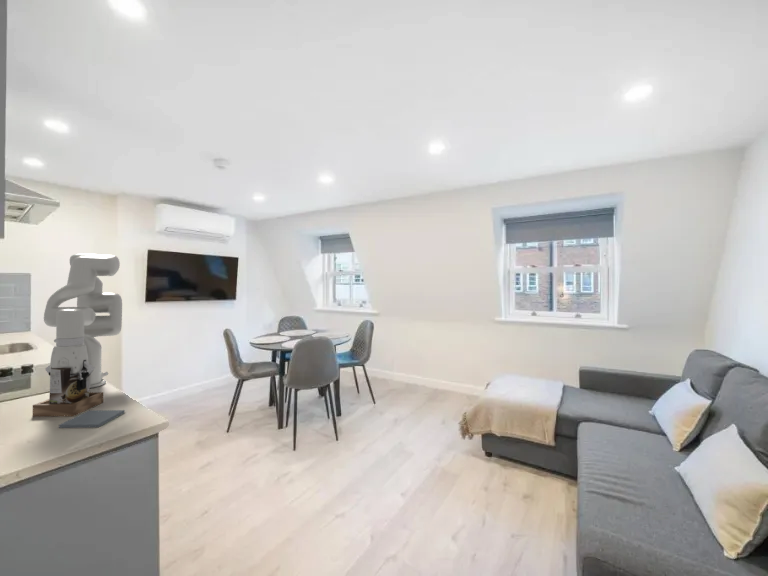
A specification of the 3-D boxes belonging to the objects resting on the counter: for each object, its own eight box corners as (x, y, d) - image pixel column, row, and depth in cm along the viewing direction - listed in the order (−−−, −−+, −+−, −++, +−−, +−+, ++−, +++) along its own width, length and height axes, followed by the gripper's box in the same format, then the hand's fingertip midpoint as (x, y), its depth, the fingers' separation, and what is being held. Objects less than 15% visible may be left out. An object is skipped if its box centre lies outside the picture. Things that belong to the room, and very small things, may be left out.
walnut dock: (67, 402, 127) (67, 392, 127) (103, 402, 128) (103, 392, 128) (32, 416, 114) (32, 405, 114) (73, 416, 115) (73, 405, 115)
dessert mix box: (62, 414, 116) (62, 369, 116) (48, 412, 117) (48, 368, 117) (90, 405, 125) (90, 363, 125) (76, 403, 126) (77, 362, 126)
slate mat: (89, 413, 118) (89, 410, 118) (124, 412, 119) (124, 410, 119) (58, 427, 106) (58, 424, 106) (98, 427, 107) (98, 424, 107)
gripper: (35, 343, 116) (34, 393, 117) (86, 344, 118) (86, 392, 118) (54, 340, 124) (54, 386, 124) (103, 340, 125) (102, 386, 125)
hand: (70, 389), depth 121 cm, fingers closed on dessert mix box, 7 cm apart
